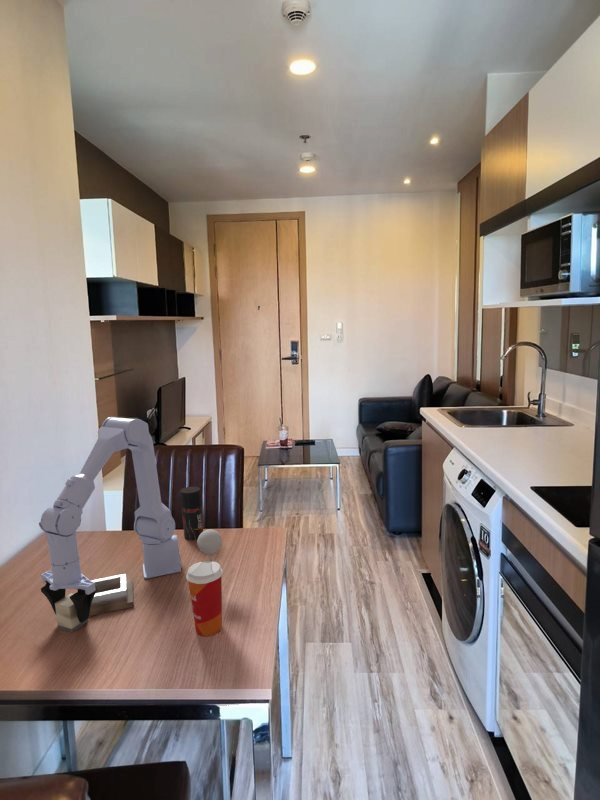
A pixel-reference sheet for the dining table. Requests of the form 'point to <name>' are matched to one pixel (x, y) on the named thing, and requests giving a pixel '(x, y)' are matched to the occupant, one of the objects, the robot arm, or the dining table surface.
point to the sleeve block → (67, 614)
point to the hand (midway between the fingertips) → (72, 616)
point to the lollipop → (209, 542)
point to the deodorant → (191, 512)
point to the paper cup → (206, 597)
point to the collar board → (112, 594)
